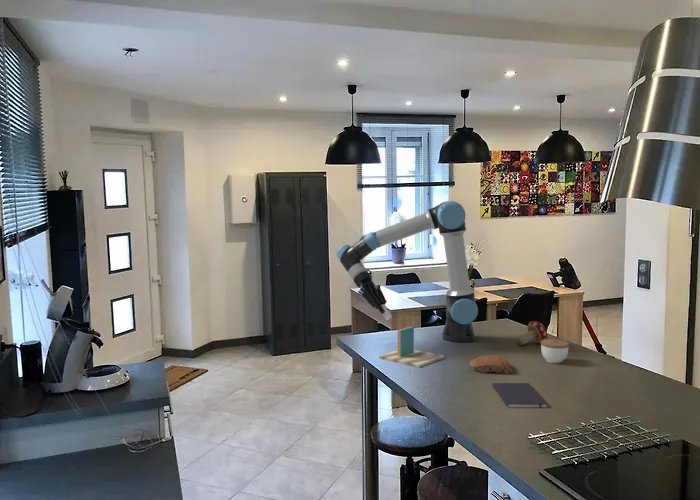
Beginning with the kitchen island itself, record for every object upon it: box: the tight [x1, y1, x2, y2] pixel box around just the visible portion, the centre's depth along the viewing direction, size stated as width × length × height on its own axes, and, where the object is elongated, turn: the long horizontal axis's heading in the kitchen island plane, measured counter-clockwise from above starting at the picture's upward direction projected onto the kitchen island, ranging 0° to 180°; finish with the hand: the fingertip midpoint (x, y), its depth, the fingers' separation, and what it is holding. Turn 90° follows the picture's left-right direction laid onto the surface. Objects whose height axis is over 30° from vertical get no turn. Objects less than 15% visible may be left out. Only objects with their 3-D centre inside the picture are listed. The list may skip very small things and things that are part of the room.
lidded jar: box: [540, 337, 570, 364], centre depth 237 cm, size 11×11×9 cm
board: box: [378, 348, 445, 368], centre depth 243 cm, size 20×18×1 cm
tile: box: [397, 326, 415, 357], centre depth 244 cm, size 2×9×11 cm, turn 138°
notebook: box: [492, 382, 548, 408], centre depth 196 cm, size 13×2×21 cm
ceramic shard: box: [469, 354, 513, 375], centre depth 228 cm, size 15×6×15 cm
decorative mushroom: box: [516, 320, 548, 346], centre depth 265 cm, size 11×11×15 cm
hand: (389, 318), depth 248 cm, fingers closed
